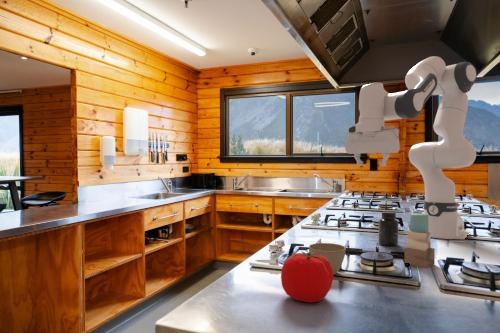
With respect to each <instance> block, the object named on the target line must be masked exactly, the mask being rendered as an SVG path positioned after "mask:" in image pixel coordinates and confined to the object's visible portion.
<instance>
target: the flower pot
mask: <svg viewBox="0 0 500 333" xmlns="http://www.w3.org/2000/svg"><path fill="white" fill-rule="evenodd" d="M308 250H309V251H308V253H311V254H317V255H320V256H323V257H325V258H326V259H327V260H328V261H329V263H330V265H331V267H332V269H333V276H334V275H336V274H337V273H338V272H339V271H340V269H341V267H342V265H343V263H344V259H345V256H346V251H347V248H346V246H345V245H343V244H342V245H341V244H338V243H329V242H317V243H311V244H310V245H308Z"/></svg>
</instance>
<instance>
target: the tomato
mask: <svg viewBox="0 0 500 333" xmlns="http://www.w3.org/2000/svg"><path fill="white" fill-rule="evenodd" d="M280 273H281V274H280V281H281V285H282V289H283V290H284V292H285V294H286V295H287V296H288V297H290V298H291V299H294V300H296V301H300V302H305V303H316V302H320V301H322V300H323V299H324V298H326V296H327V295H328V294H329V292H330V290H331V289H332V285H333V283H334V275H333V269H332V267H331V265H330V263H329V261H328V260H327V259H326V258H325V257H323V256H320V255H317V254H311V253H310V252H304V251H302V250H300V252H298V253H293V255H291V256H290V257H288V258H287V259H286V260H285V261H284V263H283V265H282V267H281V272H280Z"/></svg>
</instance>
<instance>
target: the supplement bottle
mask: <svg viewBox="0 0 500 333" xmlns="http://www.w3.org/2000/svg"><path fill="white" fill-rule="evenodd" d="M396 215H397V212H394V211H381V218H380V219H379V220H378V243H379V245H381V246H385V247H397V246H399V225H400V224H399V221H398V220H397V219H396V218H397V216H396Z"/></svg>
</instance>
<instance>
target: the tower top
mask: <svg viewBox="0 0 500 333" xmlns="http://www.w3.org/2000/svg"><path fill="white" fill-rule="evenodd" d="M406 234H407V235H406V236H407V237H406V238H407V239H406V245H407V246H406V247H407V248H411V249H417V250H423V251H426V250H427V249H429V248H432V247H431V245H432V244H431V238H432V237H431V231H429V232H428V233H416V232H412V231H410V229H409V230H407V233H406Z"/></svg>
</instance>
